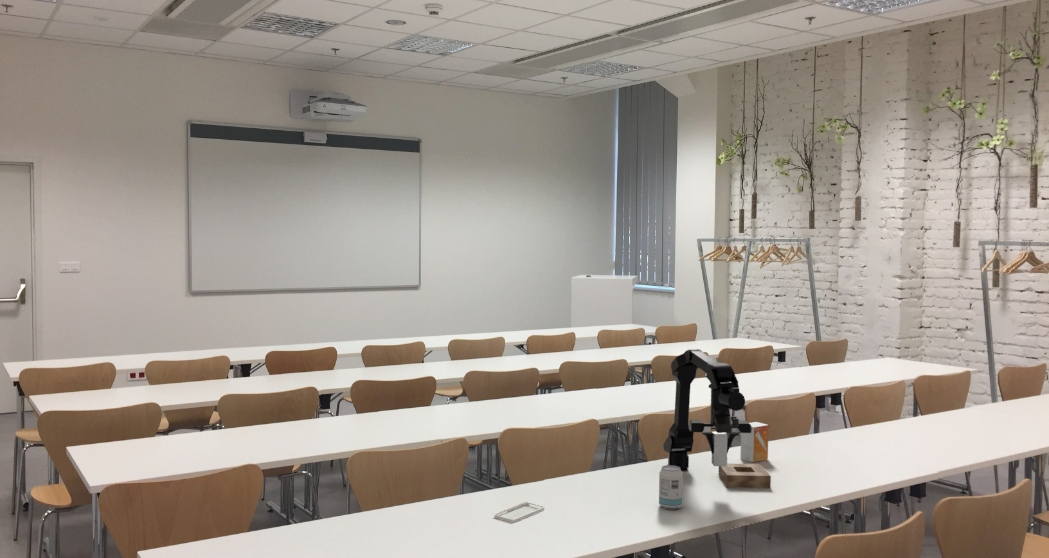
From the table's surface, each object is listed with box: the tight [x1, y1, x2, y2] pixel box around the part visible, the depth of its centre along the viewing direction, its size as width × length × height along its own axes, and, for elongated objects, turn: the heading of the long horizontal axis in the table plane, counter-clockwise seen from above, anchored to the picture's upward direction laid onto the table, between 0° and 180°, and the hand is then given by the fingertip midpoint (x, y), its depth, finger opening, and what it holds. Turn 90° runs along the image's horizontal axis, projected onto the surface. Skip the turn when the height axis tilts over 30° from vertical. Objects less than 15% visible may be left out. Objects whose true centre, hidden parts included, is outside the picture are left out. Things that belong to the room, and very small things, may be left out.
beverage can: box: [658, 465, 684, 511], centre depth 243 cm, size 7×7×12 cm
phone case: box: [494, 501, 545, 523], centre depth 238 cm, size 7×1×15 cm
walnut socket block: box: [718, 463, 772, 489], centre depth 270 cm, size 14×14×4 cm
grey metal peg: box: [711, 431, 728, 467], centre depth 256 cm, size 4×4×10 cm
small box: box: [739, 421, 770, 463], centre depth 297 cm, size 8×6×13 cm
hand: (719, 453), depth 256 cm, fingers closed on grey metal peg, 4 cm apart
